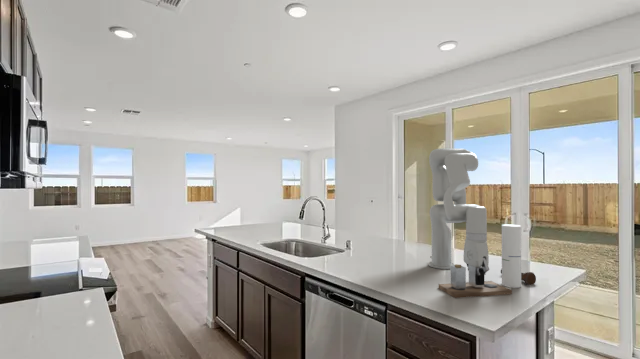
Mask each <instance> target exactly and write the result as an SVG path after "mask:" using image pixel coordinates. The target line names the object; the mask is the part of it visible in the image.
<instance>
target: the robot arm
mask: <svg viewBox="0 0 640 359" xmlns="http://www.w3.org/2000/svg"><path fill="white" fill-rule="evenodd" d="M428 161H429V167H430V170H431V174H432V179H431V180H432V181H431V182H432V183H431V184H432V198H433V200H434V201H436V202H442V203H437V204H433V205H432V206H431V207H430V208H429V219H430V225H431V227H430V228H431V255H430V259H431V261H429V262H428V266H429V267H430V268H433V269H437V270H451V266H453V265H455V264H454V263H452V231H451V229H450V227H449V226H448V225H447V224H458V223H459V224H460V223H465V239H464V245H463V246H464V247H463V262H464V264H466V266H467V271H468V272H469V265H471V266H473V267H476V268H477V274H478V275H476V285H484V281H485V275H486V273H487V272H488V271H490V267H489V262H490V259H489V257H490V256H489V248H488V242H487V241H488V235H487V234H488V233H487V232H488V230H487V229H488V228H487V227H488V224H487V222H488V220H487V219H488V218H487V217H488V216H487V214H488V211H487V208H486V207H485V206H482V205H479V204H474V203H470V204H469V203H467V192H466V188H468V187H469V186H470V184H471V179H470V176H469V173H468V172H475V171H476V170H477V169H478V168H479V159H478V157H477V155H476V154H475V153H473V151H471V150H468V149H465V148H447V147H446V148H445V147H444V148H436V149H433V150H432V151H430V153H429V157H428ZM481 266H482V267H481ZM480 268H482V269H481V270H480Z"/></svg>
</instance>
